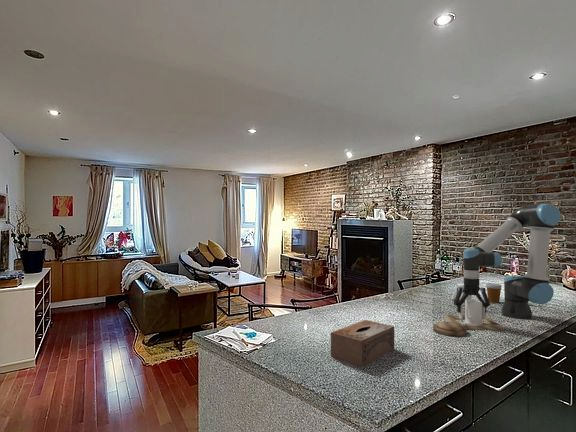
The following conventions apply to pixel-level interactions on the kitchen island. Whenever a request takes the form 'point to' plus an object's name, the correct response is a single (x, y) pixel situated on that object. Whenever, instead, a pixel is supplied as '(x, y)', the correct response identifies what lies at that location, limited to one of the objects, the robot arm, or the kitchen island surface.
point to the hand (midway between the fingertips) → (471, 318)
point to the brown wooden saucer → (449, 329)
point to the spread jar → (461, 294)
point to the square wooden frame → (492, 326)
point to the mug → (473, 312)
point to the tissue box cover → (362, 342)
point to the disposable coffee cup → (493, 292)
